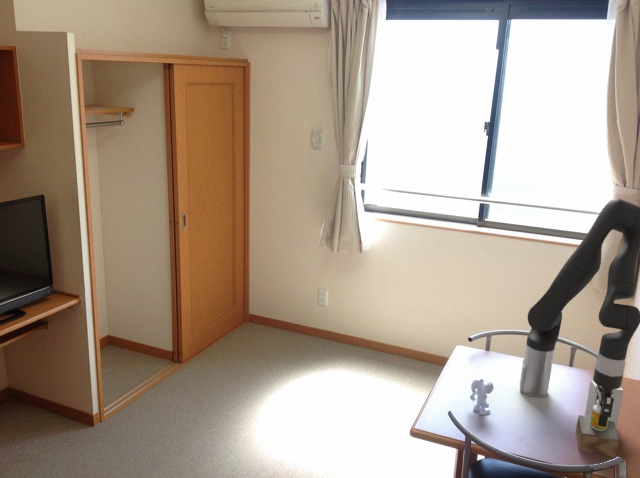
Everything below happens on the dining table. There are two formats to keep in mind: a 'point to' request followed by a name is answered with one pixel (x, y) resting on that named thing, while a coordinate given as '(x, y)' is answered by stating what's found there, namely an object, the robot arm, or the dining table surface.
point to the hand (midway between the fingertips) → (600, 418)
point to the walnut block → (596, 438)
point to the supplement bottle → (597, 418)
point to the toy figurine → (481, 395)
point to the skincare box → (616, 404)
